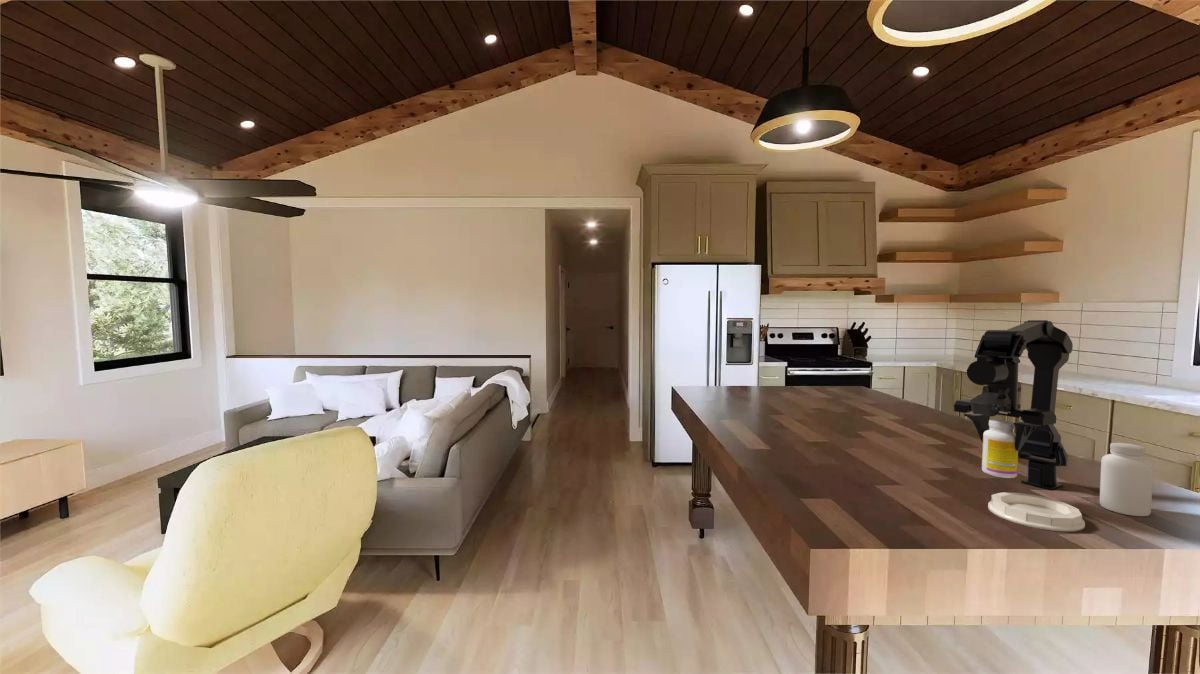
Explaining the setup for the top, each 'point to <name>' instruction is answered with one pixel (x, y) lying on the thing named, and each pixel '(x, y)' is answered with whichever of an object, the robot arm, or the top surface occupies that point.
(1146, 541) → the top surface
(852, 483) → the top surface
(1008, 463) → the supplement bottle
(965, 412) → the robot arm
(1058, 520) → the tray
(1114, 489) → the pill bottle
